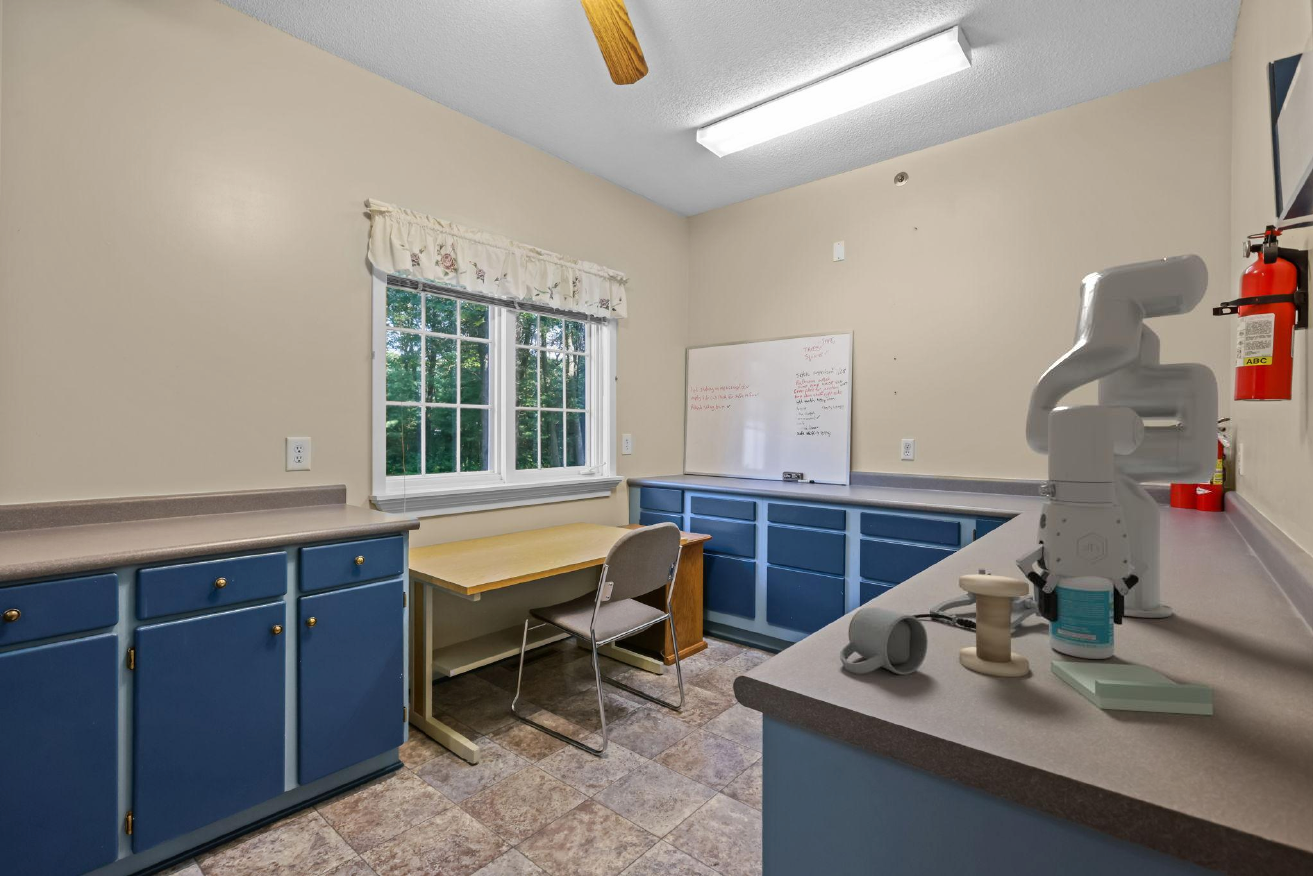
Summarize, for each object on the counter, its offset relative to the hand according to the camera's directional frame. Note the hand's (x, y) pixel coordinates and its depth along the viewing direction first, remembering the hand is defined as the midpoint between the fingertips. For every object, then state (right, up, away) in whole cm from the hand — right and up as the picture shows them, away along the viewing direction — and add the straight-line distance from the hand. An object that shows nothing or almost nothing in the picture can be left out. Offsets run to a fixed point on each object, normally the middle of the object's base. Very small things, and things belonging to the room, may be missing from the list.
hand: (1080, 619), depth 84 cm
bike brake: (-7, -5, +13) cm, 16 cm away
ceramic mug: (-30, -5, -5) cm, 31 cm away
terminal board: (-4, -4, -13) cm, 14 cm away
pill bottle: (0, -5, 0) cm, 5 cm away
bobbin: (-15, -5, -5) cm, 16 cm away
